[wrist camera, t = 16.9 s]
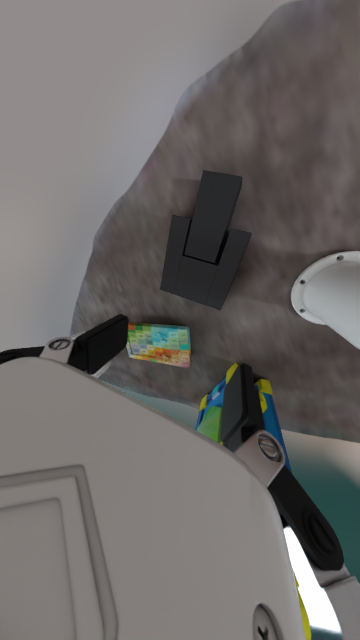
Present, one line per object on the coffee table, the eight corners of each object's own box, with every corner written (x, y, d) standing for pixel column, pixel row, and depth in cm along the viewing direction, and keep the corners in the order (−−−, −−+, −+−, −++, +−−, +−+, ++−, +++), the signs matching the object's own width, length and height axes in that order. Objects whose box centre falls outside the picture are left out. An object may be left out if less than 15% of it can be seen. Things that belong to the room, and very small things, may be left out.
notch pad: (249, 235, 26) (251, 233, 23) (222, 304, 33) (220, 310, 30) (179, 219, 29) (172, 214, 26) (167, 285, 36) (159, 289, 32)
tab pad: (207, 181, 25) (203, 170, 22) (241, 187, 24) (242, 176, 21) (189, 254, 31) (184, 254, 28) (216, 261, 30) (214, 262, 27)
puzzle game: (189, 370, 38) (127, 359, 45) (193, 358, 42) (136, 350, 49) (186, 330, 34) (117, 325, 40) (191, 322, 38) (128, 318, 44)
